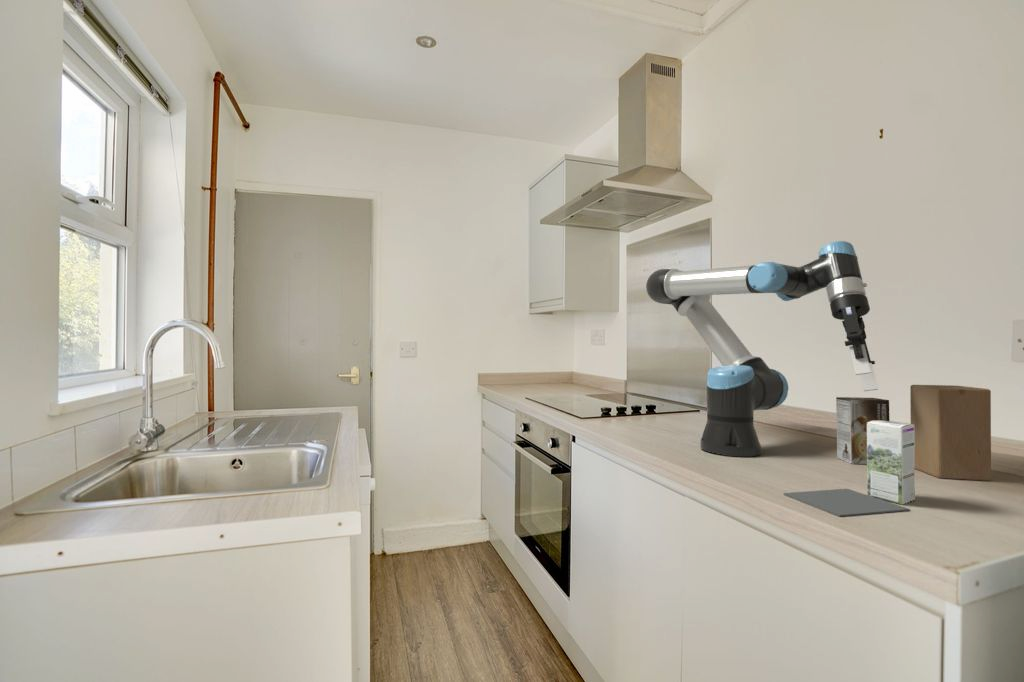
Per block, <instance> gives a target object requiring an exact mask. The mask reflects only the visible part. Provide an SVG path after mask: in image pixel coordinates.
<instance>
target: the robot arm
mask: <svg viewBox="0 0 1024 682" xmlns="http://www.w3.org/2000/svg"><path fill="white" fill-rule="evenodd" d="M858 259H859V257H858V256H857V253H856V251H855V248H854V245H853V244H852V243H851V242H849V241H845V240H838V241H837V240H835V241H833V242H828V243H827V244H825V245H823V246H822V247H821V248H820V249H819V251H818V258H816V259H815V260H813V261H811V262H808V263H806V264H803V265H801V266H794V265H788V264H783V263H777V262H775V261H763V262H762V261H761V262H758V263H757V264H755V265H754V264H752V265H751V264H750V265H740V266H731V267H718V268H707V269H706V268H705V269H697V270H696V269H695V270H679V269H677V268H673V269H672V268H670V269H669V268H661V269H657V270H655V271H653V272H652V273H651V275H649V276H648V279H647V280H646V284H645V285H646V287H645V288H646V293H647V295H648V297H649V298H650V299H651V300H652V301H654V302H655V303H658V304H664V305H671V306H673V308H674V309H675V311H676V312H677V313H678V315H680V316H681V317H687V319H688V320H689V322H690V323H691V325H692V326H693V327H694V329H695V330H696V331H697V333H698V334H699V335H700V337H701V338H702V339H703V342H705V344H706V345H707V346H708V348H709V349H710V350H711V352H712V353H713V354H714V356H715V357H716V359H717V361H719V363H720V364H721V366H716V367H712V368H711V369H709V371H707V380H706V397H707V398H706V401H707V403H706V407H707V408H706V411H707V413H706V414H707V416H706V417H707V419H706V424H705V427H704V429H703V432H702V437H701V438H700V444H699V446H700V447H701V448H702V449H703V450H702V449H701V448H700V449H701V450H702V451H704V450H705V451H704V452H706V451H708V452H707V453H710V452H712V453H711V454H714V453H716V454H715V455H720V454H721V455H720V456H729V457H742V458H743V457H746V458H747V457H756V456H760V455H761V453H762V446H761V442H760V439H759V436H758V434H757V431H756V428H755V424H754V411H766V410H771V409H775V408H777V407H779V406H781V405H782V404H783V403H785V400H786V399H787V398H788V393H789V382H788V380H787V378H786V377H785V375H783V373H781V372H780V371H779V370H776V369H773V368H770V367H769V366H768V364H767V363H766V362H765V360H763V359H762V357H760V356H754V355H753V354H752V353H751V352H750V351H749V349H748V348H747V347H746V346H745V344H744V343H743V342H742V340H741V339H740V337H738V336H737V334H736V333H735V332H734V330H733V329H732V328H731V327H730V326H729V324H728V323H727V322H726V321H725V319H724V318H723V317H722V315H721V314H720V313H719V312H718V310H717V309H716V308H715V306H714V305H713V303H711V301H710V299H711V296H714V295H716V296H719V295H720V296H721V295H743V294H744V295H745V294H746V295H747V294H776V296H777V297H778V298H779V299H781V300H782V301H783V302H789V301H793V300H797V299H800V298H802V297H804V296H806V295H809V294H811V293H815V292H817V291H819V290H821V289H825V291H826V295H827V298H828V302H829V305H830V306H829V307H830V313H831V316H832V317H833V318H834V319H835V320H836V319H837V320H841V322H842V327H843V328H844V331H845V334H846V339H847V340H844V345H845V347H849V351H850V356H851V359H852V364H853V368H854V373H855V375H856V376H860V380H861V384H862V388H863V391H864V392H870V391H879V388H878V384H877V380H876V379H877V378H876V376H875V371H874V367H873V365H876V362H875V360H872V359H871V356H870V352H869V349H868V345H867V342H866V339H867V333H866V329H865V328H866V325H865V321H864V319H863V316H866V315H867V314H868V313H869V312H870V310H871V307H870V304H869V300H868V297H867V293H866V289H865V288H866V287H868V284H867V282H863V278H862V273H861V268H860V264H859V260H858Z"/></svg>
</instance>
